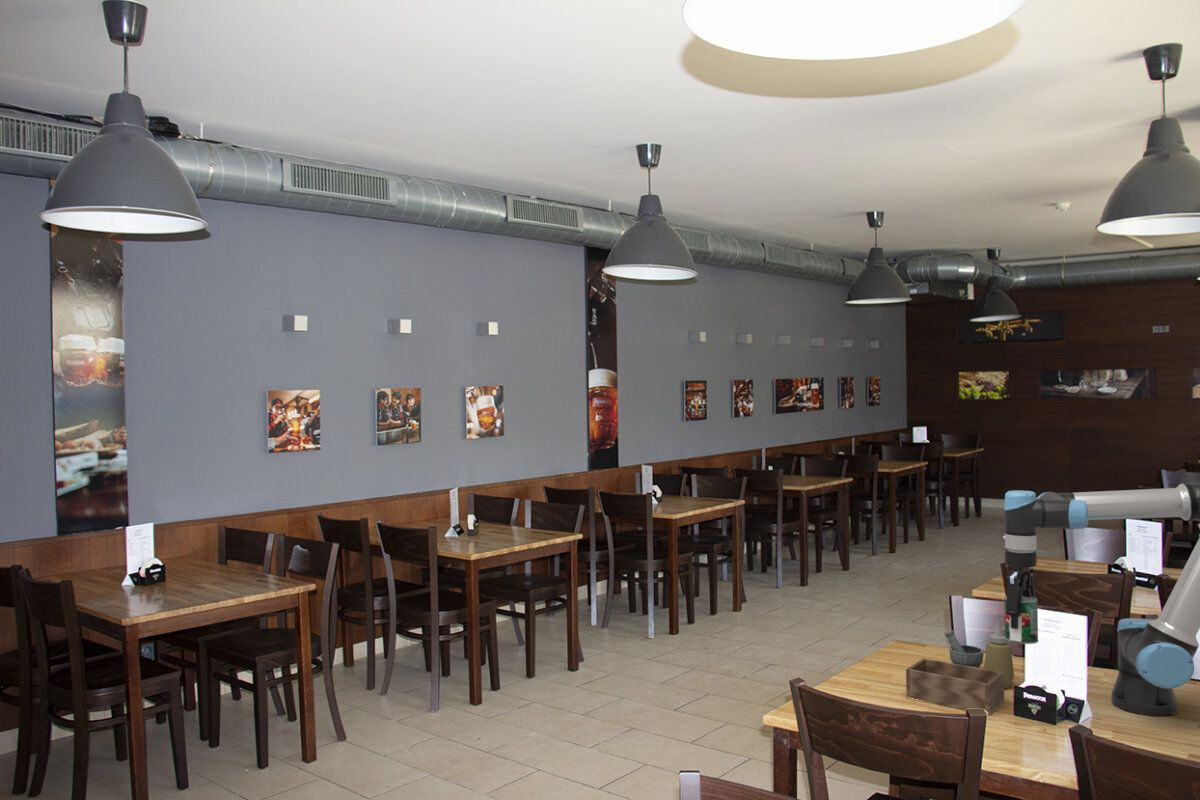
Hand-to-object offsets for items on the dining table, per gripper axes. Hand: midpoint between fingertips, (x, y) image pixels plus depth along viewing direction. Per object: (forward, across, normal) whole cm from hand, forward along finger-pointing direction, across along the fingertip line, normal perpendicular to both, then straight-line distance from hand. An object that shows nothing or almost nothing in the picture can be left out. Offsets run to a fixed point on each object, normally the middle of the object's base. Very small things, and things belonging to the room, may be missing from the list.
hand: (1021, 636), depth 235 cm
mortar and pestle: (+21, -25, -25) cm, 41 cm away
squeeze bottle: (+21, -18, -12) cm, 30 cm away
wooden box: (+20, +1, -17) cm, 27 cm away
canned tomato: (+1, 0, 0) cm, 1 cm away
